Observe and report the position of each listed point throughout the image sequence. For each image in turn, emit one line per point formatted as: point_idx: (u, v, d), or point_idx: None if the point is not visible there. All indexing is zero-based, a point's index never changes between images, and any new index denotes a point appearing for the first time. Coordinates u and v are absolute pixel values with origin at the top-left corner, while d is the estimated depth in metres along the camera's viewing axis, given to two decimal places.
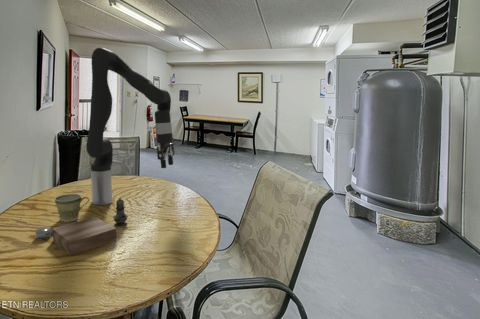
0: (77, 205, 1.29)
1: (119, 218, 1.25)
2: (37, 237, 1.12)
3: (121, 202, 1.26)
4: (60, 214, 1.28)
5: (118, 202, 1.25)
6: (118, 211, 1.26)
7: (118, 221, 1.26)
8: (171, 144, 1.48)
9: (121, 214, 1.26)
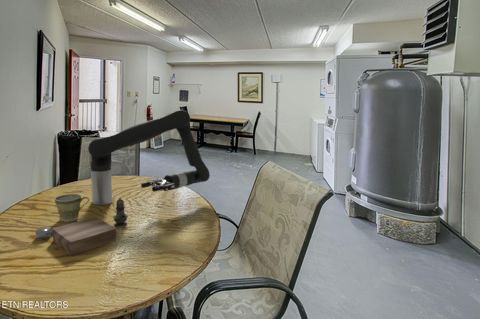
0: (77, 205, 1.29)
1: (119, 218, 1.25)
2: (37, 237, 1.12)
3: (121, 202, 1.26)
4: (60, 214, 1.28)
5: (118, 202, 1.25)
6: (118, 211, 1.26)
7: (118, 221, 1.26)
8: None
9: (121, 214, 1.26)
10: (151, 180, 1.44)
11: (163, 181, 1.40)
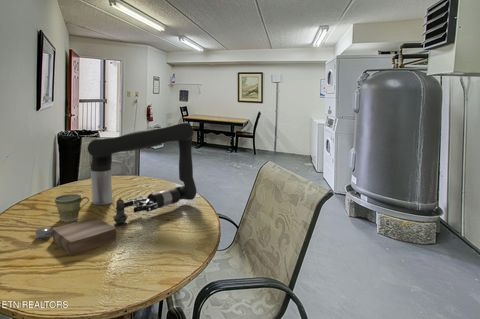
0: (77, 205, 1.29)
1: (119, 218, 1.25)
2: (37, 237, 1.12)
3: (121, 202, 1.26)
4: (60, 214, 1.28)
5: (118, 202, 1.25)
6: (118, 211, 1.26)
7: (118, 221, 1.26)
8: None
9: (121, 214, 1.26)
10: (134, 199, 1.39)
11: (146, 200, 1.35)
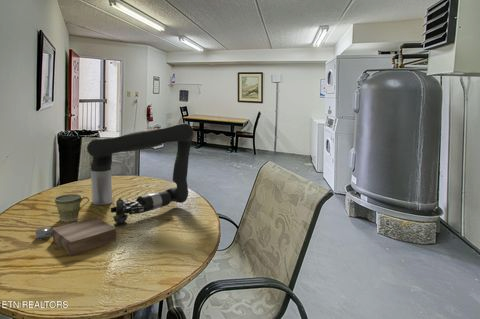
0: (77, 205, 1.29)
1: (119, 218, 1.25)
2: (37, 237, 1.12)
3: (121, 202, 1.26)
4: (60, 214, 1.28)
5: (118, 202, 1.25)
6: None
7: (118, 221, 1.26)
8: None
9: (121, 214, 1.26)
10: None
11: (134, 203, 1.31)
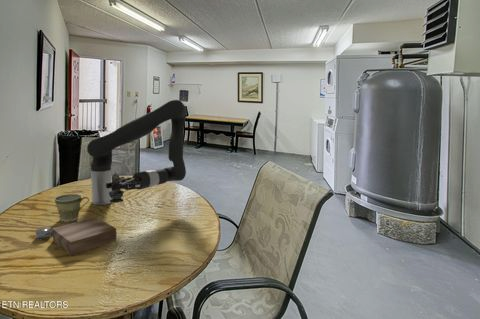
0: (77, 205, 1.29)
1: (115, 193, 1.21)
2: (37, 237, 1.12)
3: (117, 177, 1.22)
4: (60, 214, 1.28)
5: (113, 177, 1.21)
6: None
7: (114, 197, 1.22)
8: None
9: (117, 190, 1.22)
10: None
11: (130, 179, 1.27)
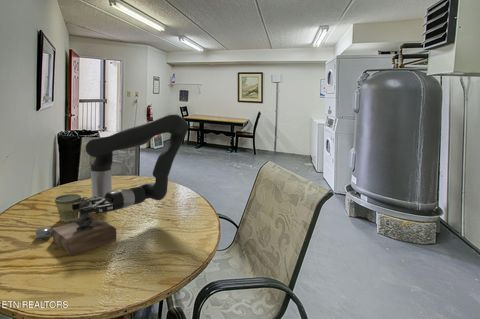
0: None
1: (82, 221, 1.09)
2: (37, 237, 1.12)
3: (84, 202, 1.09)
4: (60, 214, 1.28)
5: (81, 202, 1.08)
6: None
7: (81, 224, 1.09)
8: None
9: (84, 216, 1.09)
10: (87, 199, 1.16)
11: (100, 200, 1.13)
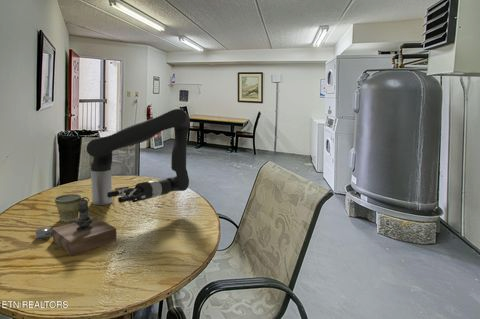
0: (77, 205, 1.29)
1: (82, 221, 1.09)
2: (37, 237, 1.12)
3: (84, 202, 1.09)
4: (60, 214, 1.28)
5: (81, 202, 1.08)
6: (81, 213, 1.09)
7: (81, 224, 1.09)
8: None
9: (84, 216, 1.09)
10: (120, 189, 1.28)
11: (133, 190, 1.24)
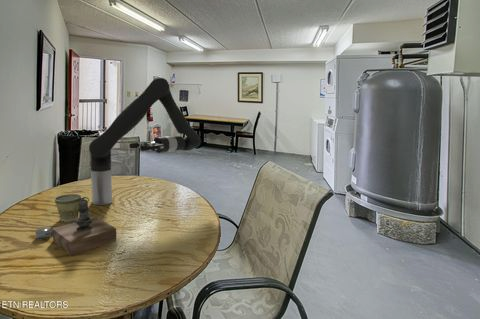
0: (77, 205, 1.29)
1: (82, 221, 1.09)
2: (37, 237, 1.12)
3: (84, 202, 1.09)
4: (60, 214, 1.28)
5: (81, 202, 1.08)
6: (81, 213, 1.09)
7: (81, 224, 1.09)
8: None
9: (84, 216, 1.09)
10: None
11: (152, 142, 1.37)
